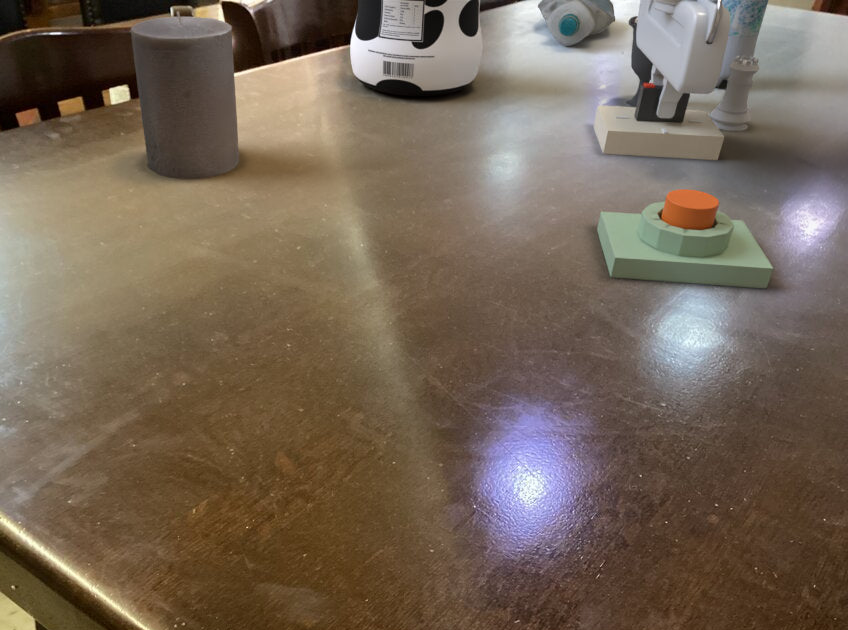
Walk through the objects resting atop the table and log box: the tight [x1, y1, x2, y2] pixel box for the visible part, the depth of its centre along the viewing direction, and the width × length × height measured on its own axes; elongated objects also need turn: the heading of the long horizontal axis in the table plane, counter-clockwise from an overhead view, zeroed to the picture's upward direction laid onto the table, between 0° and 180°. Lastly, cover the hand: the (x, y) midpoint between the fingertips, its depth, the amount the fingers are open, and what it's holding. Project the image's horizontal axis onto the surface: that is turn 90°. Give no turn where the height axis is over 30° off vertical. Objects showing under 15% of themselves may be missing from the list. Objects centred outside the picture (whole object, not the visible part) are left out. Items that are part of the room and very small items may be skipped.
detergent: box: [537, 0, 616, 47], centre depth 134 cm, size 13×7×25 cm
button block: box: [596, 200, 774, 289], centre depth 67 cm, size 12×9×4 cm
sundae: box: [624, 15, 653, 107], centre depth 99 cm, size 7×7×15 cm
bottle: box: [715, 0, 769, 88], centre depth 107 cm, size 7×7×20 cm
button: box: [661, 188, 720, 230], centre depth 66 cm, size 4×4×2 cm
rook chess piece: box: [710, 56, 761, 132], centre depth 95 cm, size 4×4×8 cm
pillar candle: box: [130, 10, 240, 180], centre depth 81 cm, size 10×10×15 cm
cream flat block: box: [593, 104, 725, 161], centre depth 91 cm, size 12×9×3 cm
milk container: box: [349, 0, 484, 97], centre depth 105 cm, size 17×17×18 cm
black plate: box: [634, 82, 691, 122], centre depth 89 cm, size 5×1×4 cm, turn 85°
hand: (660, 112), depth 89 cm, fingers closed on black plate
